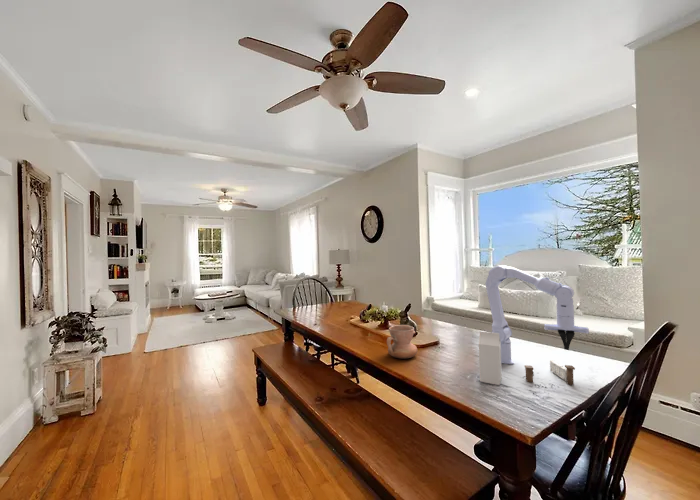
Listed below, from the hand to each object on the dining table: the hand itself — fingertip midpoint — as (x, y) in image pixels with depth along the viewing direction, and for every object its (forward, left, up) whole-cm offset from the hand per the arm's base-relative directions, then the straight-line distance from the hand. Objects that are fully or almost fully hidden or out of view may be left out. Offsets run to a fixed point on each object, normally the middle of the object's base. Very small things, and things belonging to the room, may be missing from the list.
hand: (566, 349), depth 122 cm
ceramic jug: (-67, +10, -11) cm, 69 cm away
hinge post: (-2, -9, -10) cm, 14 cm away
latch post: (-16, -9, -10) cm, 21 cm away
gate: (-4, -3, -10) cm, 11 cm away
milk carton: (-30, -11, -11) cm, 34 cm away
